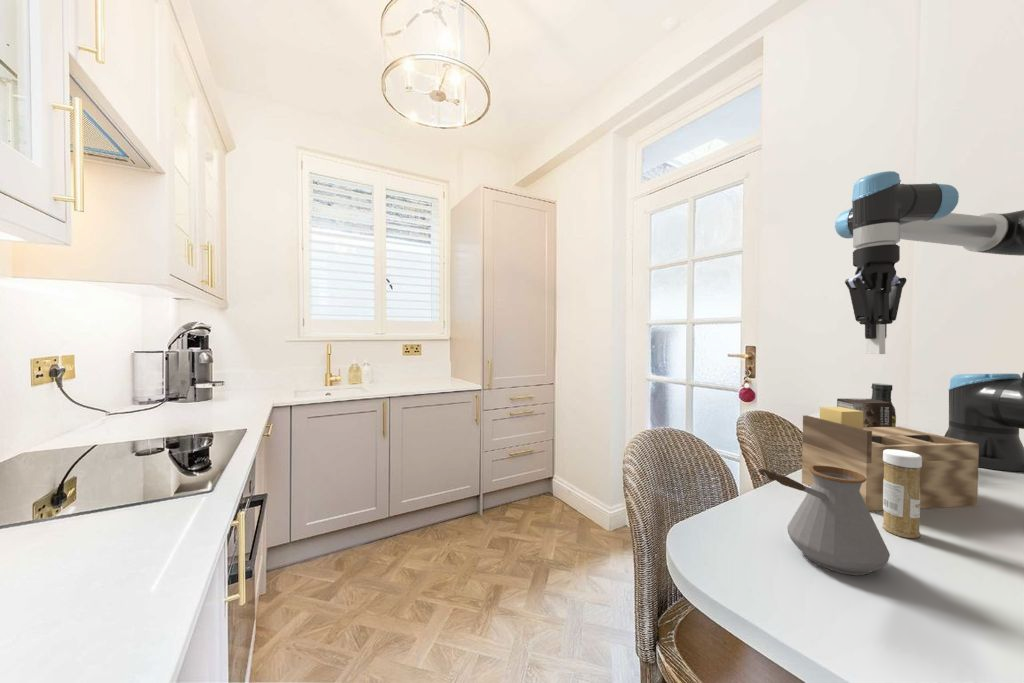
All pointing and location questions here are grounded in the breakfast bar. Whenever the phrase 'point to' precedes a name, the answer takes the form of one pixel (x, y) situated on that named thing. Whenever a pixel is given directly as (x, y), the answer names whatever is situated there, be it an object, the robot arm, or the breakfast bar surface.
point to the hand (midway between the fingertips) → (875, 353)
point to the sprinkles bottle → (901, 492)
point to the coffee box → (870, 411)
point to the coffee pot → (835, 522)
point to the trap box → (861, 450)
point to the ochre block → (842, 416)
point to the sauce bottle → (884, 396)
